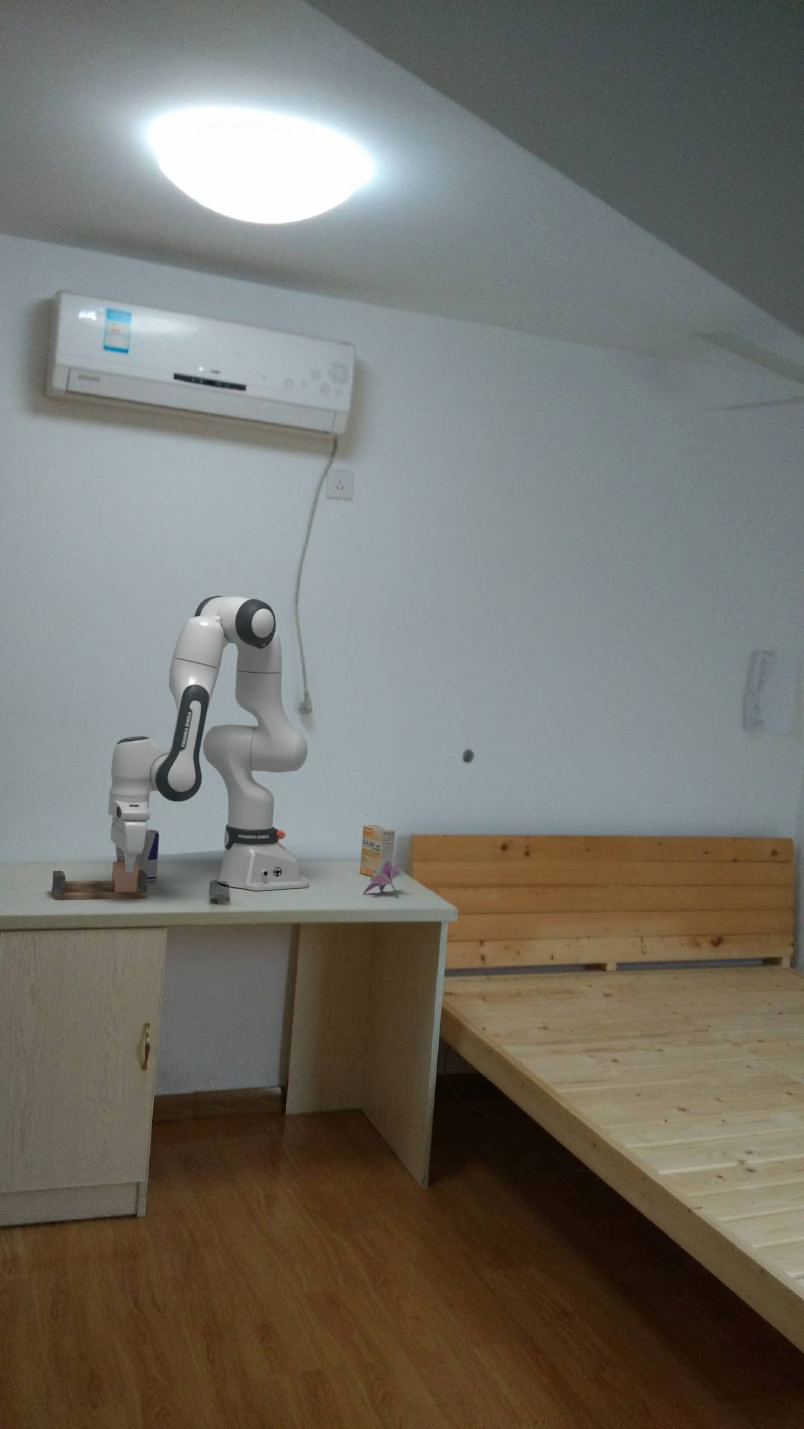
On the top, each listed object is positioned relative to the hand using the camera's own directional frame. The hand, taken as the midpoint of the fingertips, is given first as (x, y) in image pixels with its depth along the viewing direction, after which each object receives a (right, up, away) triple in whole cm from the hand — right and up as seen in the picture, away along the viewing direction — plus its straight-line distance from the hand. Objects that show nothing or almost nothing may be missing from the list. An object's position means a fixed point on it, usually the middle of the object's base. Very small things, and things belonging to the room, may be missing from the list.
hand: (124, 868), depth 253 cm
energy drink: (0, -6, +18) cm, 19 cm away
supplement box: (+56, -8, +43) cm, 71 cm away
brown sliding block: (0, -5, +1) cm, 5 cm away
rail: (-5, -6, -1) cm, 8 cm away
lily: (+59, -10, +21) cm, 63 cm away
